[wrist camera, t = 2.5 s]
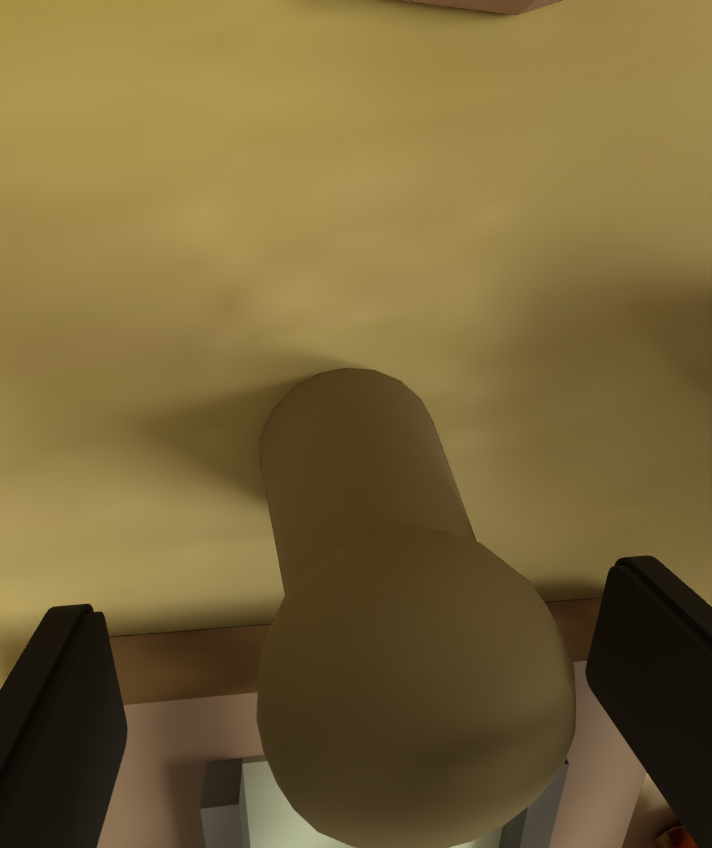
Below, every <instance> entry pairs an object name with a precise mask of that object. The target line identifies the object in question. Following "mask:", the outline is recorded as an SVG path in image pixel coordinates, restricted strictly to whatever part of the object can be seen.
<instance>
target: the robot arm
mask: <svg viewBox="0 0 712 848" xmlns="http://www.w3.org/2000/svg"><path fill="white" fill-rule="evenodd" d="M585 674H586V679H587V683H588V685H589V687H590V689H591V691H592V692H593V694H594V695H595V697H596V698H597V700H598V701H599V703H600V704H601V706H602V707H603V708H604V710H605V711H606V713H607V714H608V716H609V717H610V719H611V720H612V722H613V723H614V725H615V726H616V728H617V729H618V731H619V732H620V733H621V735H622V736H623V738H624V739H625V741H626V742H627V744H628V745H629V747H630V748H631V750H632V751H633V753H634V754H635V755H636V757H637V758H638V760H639V761H640V763H641V764H642V766H643V767H644V769H645V770H646V772H647V773H648V775H649V776H650V777H651V779H652V780H653V782H654V783H655V785H656V786H657V788H658V789H659V791H660V792H661V794H662V795H663V797H664V798H665V800H666V801H667V802H668V804H669V805H670V807H671V808H672V810H673V811H674V813H675V814H676V816H677V817H678V819H679V820H680V822H681V823H682V824H683V826H684V827H685V829H686V830H687V832H688V833H689V835H690V836H691V838H692V839H693V841H694V842H695V844H696V845H697V846H698V848H712V607H711V606H710V605H709V604H708V603H707V602H705V601H704V600H703V599H702V598H701V597H700V596H699V595H697V594H696V593H695V592H694V591H693V590H692V589H690V588H689V587H688V586H687V585H686V584H685V583H684V582H682V581H681V580H680V579H679V578H678V577H677V576H676V575H674V574H673V573H672V572H671V571H670V570H669V569H668V568H666V567H665V566H664V565H663V564H662V563H661V562H659V561H658V560H657V559H656V558H654V557H652V556H636V557H625V558H620V559H618V560H617V561H616V563H615V566H613V567H611V568H610V570H609V572H608V576H607V580H606V584H605V588H604V593H603V597H602V601H601V605H600V609H599V614H598V618H597V622H596V626H595V630H594V635H593V639H592V643H591V647H590V651H589V656H588V660H587V664H586V669H585ZM127 733H128V726H127V720H126V715H125V711H124V706H123V701H122V696H121V692H120V687H119V682H118V678H117V673H116V668H115V663H114V659H113V654H112V649H111V645H110V640H109V635H108V630H107V626H106V621H105V617H104V614H103V613H102V612H94V611H93V608H92V606H91V605H90V604H80V605H68V606H57V607H52V608H50V609H49V610H48V611H47V613H46V614H45V616H44V617H43V619H42V621H41V622H40V624H39V626H38V627H37V629H36V631H35V632H34V634H33V636H32V638H31V639H30V641H29V643H28V644H27V646H26V648H25V649H24V651H23V653H22V654H21V656H20V658H19V659H18V661H17V663H16V664H15V666H14V668H13V669H12V671H11V673H10V674H9V676H8V678H7V680H6V681H5V683H4V685H3V686H2V688H1V690H0V848H97V845H98V841H99V838H100V834H101V831H102V827H103V824H104V821H105V817H106V814H107V810H108V807H109V803H110V800H111V796H112V793H113V789H114V786H115V782H116V779H117V775H118V772H119V769H120V765H121V762H122V758H123V755H124V751H125V747H126V742H127Z"/></svg>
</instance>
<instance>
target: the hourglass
mask: <svg viewBox="0 0 712 848" xmlns="http://www.w3.org/2000/svg"><path fill="white" fill-rule="evenodd" d="M400 1H407V2H415V3H423V4H431V5H439V6H447V7H456V8H464V9H472V10H480V11H488V12H496V13H504V14H513V15H518V14H521V13H525V12H528V11H531V10H534V9H537V8H540V7H543V6H546V5H549V4H552V3H555V2H558V1H561V0H400Z"/></svg>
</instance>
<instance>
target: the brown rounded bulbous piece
mask: <svg viewBox="0 0 712 848" xmlns="http://www.w3.org/2000/svg"><path fill="white" fill-rule="evenodd" d="M260 464H261V469H262V475H263V480H264V485H265V491H266V496H267V501H268V507H269V512H270V517H271V523H272V528H273V533H274V539H275V544H276V549H277V555H278V560H279V565H280V571H281V576H282V581H283V587H284V592H285V597H284V599H283V602H282V604H281V606H280V608H279V610H278V612H277V614H276V616H275V618H274V620H273V622H272V625H271V627H270V629H269V632H268V634H267V637H266V639H265V642H264V644H263V647H262V650H261V656H260V668H259V680H258V697H257V716H256V720H257V725H258V729H259V734H260V739H261V744H262V748H263V752H264V754H265V757H266V759H267V762H268V764H269V766H270V769H271V771H272V774H273V776H274V778H275V781H276V783H277V785H278V786H279V788H280V790H281V791H282V793H283V794H284V796H285V797H286V799H287V800H288V802H289V803H290V805H291V806H292V808H293V810H295V811H296V812H297V813H298V814H299V815H300V816H301V817H302V818H303V819H304V820H305V821H306V822H307V823H309V824H310V825H311V826H312V827H313V828H314V829H315V830H316V831H317V832H319V833H321V834H323V835H326V836H328V837H330V838H333V839H335V840H337V841H340V842H342V843H345V844H347V845H349V846H352V847H356V848H449V847H453V846H457V845H460V844H464V843H467V842H471V841H473V840H475V839H477V838H479V837H481V836H483V835H485V834H487V833H489V832H491V831H493V830H495V829H498V828H500V827H502V826H504V825H505V824H506V823H508V822H509V821H510V820H512V819H513V818H514V817H515V816H517V815H518V814H519V813H521V812H522V811H523V810H524V809H526V808H527V807H528V806H529V805H531V804H532V803H533V802H534V801H535V800H536V799H537V798H538V797H539V796H540V795H541V793H542V792H543V791H544V790H545V788H546V787H547V786H548V784H549V783H550V782H551V781H552V779H553V778H554V777H555V776H556V774H557V773H558V772H559V770H560V769H561V768H562V767H563V765H564V763H565V760H566V757H567V755H568V752H569V749H570V746H571V744H572V741H573V738H574V735H575V725H576V689H575V669H574V665H573V662H572V659H571V656H570V654H569V651H568V648H567V645H566V642H565V639H564V637H563V635H562V633H561V631H560V629H559V627H558V625H557V624H556V622H555V620H554V618H553V616H552V614H551V612H550V611H549V609H548V607H547V605H546V604H545V602H544V601H543V600H542V598H541V597H540V595H539V594H538V593H537V591H536V590H535V588H534V587H533V586H532V584H531V583H530V582H529V581H528V580H527V579H526V578H524V577H523V576H522V575H521V574H519V573H518V572H517V571H515V570H514V569H513V568H512V567H510V566H509V565H508V564H507V563H505V562H504V561H503V560H502V559H500V558H499V557H498V556H496V555H495V554H494V553H493V552H491V551H490V550H489V549H487V548H486V547H485V546H484V545H482V544H481V543H479V542H477V541H476V538H475V536H474V533H473V530H472V527H471V524H470V522H469V519H468V516H467V513H466V511H465V508H464V505H463V502H462V500H461V497H460V494H459V491H458V489H457V486H456V483H455V480H454V478H453V475H452V472H451V469H450V467H449V464H448V461H447V458H446V456H445V453H444V450H443V447H442V444H441V442H440V439H439V436H438V433H437V431H436V428H435V425H434V422H433V420H432V418H431V417H430V415H429V413H428V411H427V409H426V408H425V406H424V404H423V402H422V400H421V399H420V398H419V397H418V396H417V395H416V394H415V393H414V392H412V391H411V390H410V389H409V388H408V387H407V386H406V385H404V384H403V383H402V382H401V381H399V380H397V379H394V378H392V377H390V376H387V375H385V374H382V373H380V372H377V371H375V370H363V369H350V368H344V369H340V370H335V371H331V372H327V373H323V374H318V375H315V376H314V377H312V378H310V379H309V380H307V381H305V382H304V383H302V384H300V385H299V386H297V387H295V388H294V389H292V390H291V391H290V392H289V393H288V394H287V395H286V396H285V397H284V398H283V400H282V401H281V402H280V403H279V404H278V405H277V406H276V408H275V409H274V410H273V411H272V413H271V415H270V418H269V420H268V422H267V425H266V427H265V430H264V432H263V435H262V437H261V459H260Z"/></svg>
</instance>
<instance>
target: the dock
mask: <svg viewBox="0 0 712 848" xmlns="http://www.w3.org/2000/svg"><path fill="white" fill-rule="evenodd" d="M601 601H602V598H594V599H582V600H569V601H557V602H545V604H546V605H547V607H548V609H549V611H550V612H551V614H552V616H553V618H554V620H555V622H556V624H557V625H558V627H559V629H560V631H561V633H562V635H563V637H564V639H565V642H566V645H567V648H568V651H569V654H570V656H571V659H572V662H573V665H574V669H575V689H576V725H575V735H574V738H573V741H572V744H571V746H570V749H569V752H568V755H567V757H566V760H565V763H564V765H563V767H562V768H561V769H560V770H559V772H558V773H557V774H556V776H555V777H554V778H553V779H552V781H551V782H550V783H549V784H548V786H547V787H546V788H545V790H544V791H543V792H542V793H541V795H540V796H539V797H538V798H537V799H536V800H535V801H534V802H533V803H532V804H531V805H529V806H528V807H527V808H526V809H524V810H523V811H522V812H521V813H519V814H518V815H517V816H515V817H514V818H513V819H512V820H510V821H509V822H508V823H506V824H505V825H504V826H502V827H500V828H498V829H495V830H493V831H491V832H489V833H487V834H485V835H483V836H481V837H479V838H477V839H475V840H473V841H471V842H467V843H464V844H460V845H457V846H453V847H449V848H622V845H623V842H624V839H625V836H626V833H627V830H628V827H629V824H630V821H631V818H632V815H633V812H634V809H635V806H636V803H637V799H638V796H639V793H640V790H641V787H642V784H643V781H644V778H645V775H646V770H645V769H644V767H643V766H642V764H641V763H640V761H639V760H638V758H637V757H636V755H635V754H634V753H633V751H632V750H631V748H630V747H629V745H628V744H627V742H626V741H625V739H624V738H623V736H622V735H621V733H620V732H619V731H618V729H617V728H616V726H615V725H614V723H613V722H612V720H611V719H610V717H609V716H608V714H607V713H606V711H605V710H604V708H603V707H602V706H601V704H600V703H599V701H598V700H597V698H596V697H595V695H594V694H593V692H592V691H591V689H590V687H589V685H588V683H587V679H586V674H585V669H586V664H587V660H588V656H589V651H590V647H591V643H592V639H593V635H594V630H595V626H596V622H597V618H598V614H599V609H600V605H601ZM271 625H272V624H270V625H258V626H245V627H233V628H220V629H208V630H195V631H183V632H170V633H158V634H145V635H133V636H120V637H109V640H110V645H111V649H112V654H113V659H114V663H115V668H116V673H117V678H118V682H119V687H120V692H121V696H122V701H123V706H124V711H125V715H126V720H127V726H128V733H127V742H126V747H125V751H124V755H123V758H122V762H121V765H120V769H119V772H118V775H117V779H116V782H115V786H114V789H113V793H112V796H111V800H110V803H109V807H108V810H107V814H106V817H105V821H104V824H103V827H102V831H101V834H100V838H99V841H98V845H97V848H356V847H352V846H349V845H347V844H345V843H342V842H340V841H337V840H335V839H333V838H330V837H328V836H326V835H323V834H321V833H319V832H317V831H316V830H315V829H314V828H313V827H312V826H311V825H310V824H309V823H307V822H306V821H305V820H304V819H303V818H302V817H301V816H300V815H299V814H298V813H297V812H296V811H295V810H293V808H292V806H291V805H290V803H289V802H288V800H287V799H286V797H285V796H284V794H283V793H282V791H281V790H280V788H279V786H278V785H277V783H276V781H275V778H274V776H273V774H272V771H271V769H270V766H269V764H268V762H267V759H266V757H265V754H264V752H263V748H262V744H261V739H260V734H259V729H258V725H257V720H256V716H257V697H258V680H259V668H260V656H261V650H262V647H263V644H264V642H265V639H266V637H267V634H268V632H269V629H270V627H271Z"/></svg>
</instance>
